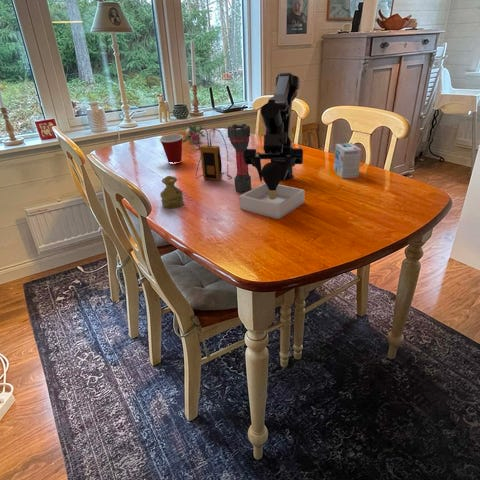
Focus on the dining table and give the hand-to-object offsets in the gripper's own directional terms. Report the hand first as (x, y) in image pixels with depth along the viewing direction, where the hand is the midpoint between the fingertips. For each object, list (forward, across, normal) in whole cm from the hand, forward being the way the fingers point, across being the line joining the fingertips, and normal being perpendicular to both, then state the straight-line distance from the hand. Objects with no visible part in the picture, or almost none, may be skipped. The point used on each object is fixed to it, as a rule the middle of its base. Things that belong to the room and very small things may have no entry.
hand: (271, 181), depth 113 cm
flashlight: (-4, -12, +17) cm, 21 cm away
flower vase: (-54, -50, +68) cm, 100 cm away
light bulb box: (-17, +26, +30) cm, 43 cm away
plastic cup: (-28, -49, +42) cm, 70 cm away
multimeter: (-15, -25, +28) cm, 41 cm away
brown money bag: (+6, -34, +7) cm, 35 cm away
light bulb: (+4, 0, +6) cm, 7 cm away
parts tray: (+6, 0, +7) cm, 9 cm away
